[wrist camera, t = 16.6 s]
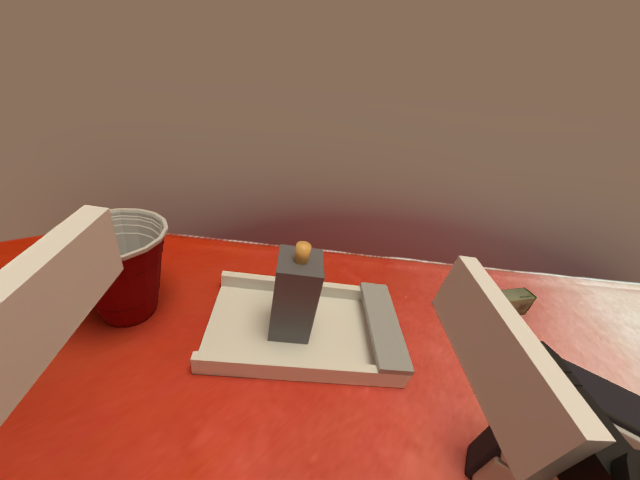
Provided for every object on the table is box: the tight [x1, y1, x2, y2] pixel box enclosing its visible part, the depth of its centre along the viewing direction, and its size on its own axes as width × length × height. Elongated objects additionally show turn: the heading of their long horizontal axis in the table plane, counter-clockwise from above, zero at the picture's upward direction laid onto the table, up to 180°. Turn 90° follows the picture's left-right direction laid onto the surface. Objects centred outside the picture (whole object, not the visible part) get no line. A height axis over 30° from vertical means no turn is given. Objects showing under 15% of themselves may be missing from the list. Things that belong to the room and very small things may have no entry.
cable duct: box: [190, 271, 415, 388], centre depth 38 cm, size 24×14×3 cm, turn 92°
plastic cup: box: [48, 208, 168, 327], centre depth 34 cm, size 11×11×12 cm
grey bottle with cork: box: [267, 241, 325, 345], centre depth 35 cm, size 5×5×13 cm
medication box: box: [501, 288, 537, 315], centre depth 48 cm, size 12×3×4 cm, turn 106°
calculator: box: [466, 359, 640, 480], centre depth 23 cm, size 11×4×15 cm, turn 59°
